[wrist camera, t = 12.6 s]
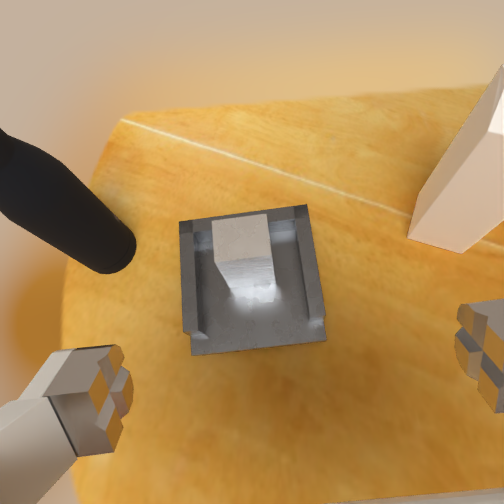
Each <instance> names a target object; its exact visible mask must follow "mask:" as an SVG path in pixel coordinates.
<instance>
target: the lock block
mask: <svg viewBox="0 0 504 504" xmlns="http://www.w3.org/2000/svg"><path fill="white" fill-rule="evenodd" d="M212 234H213V249H214V262H215V264H216V266H217V267H218V269H219V271H220V272H221V274H222V276H223V277H224V279H225V281H226V282H227V284H228V286H229V287H230V288H237V287H245V286H253V285H261V284H270V283H276V282H275V274H274V266H273V258H272V250H271V243H270V236H269V229H268V222H267V215H266V214H259V215H252V216H244V217H237V218H229V219H222V220H214V221H212Z"/></svg>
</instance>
